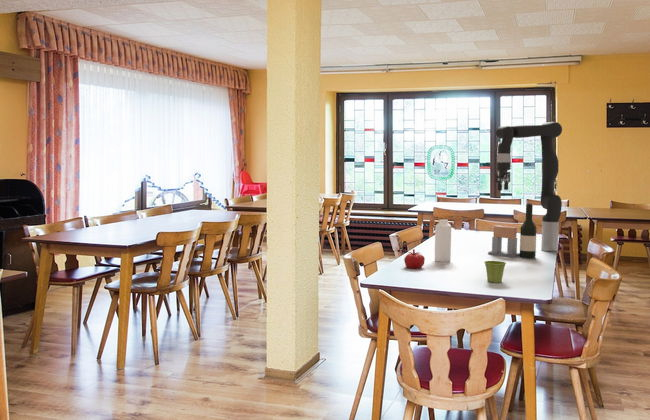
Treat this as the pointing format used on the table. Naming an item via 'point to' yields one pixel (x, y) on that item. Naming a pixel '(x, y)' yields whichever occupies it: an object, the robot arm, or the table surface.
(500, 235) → the rectangular block
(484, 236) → the table surface
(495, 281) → the plant pot
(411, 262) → the red apple
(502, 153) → the robot arm
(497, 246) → the stand
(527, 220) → the wine bottle
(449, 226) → the milk
